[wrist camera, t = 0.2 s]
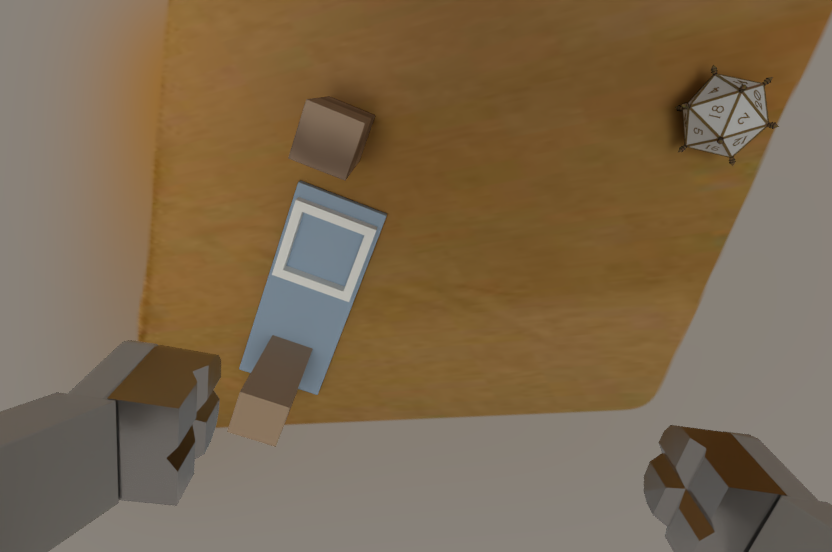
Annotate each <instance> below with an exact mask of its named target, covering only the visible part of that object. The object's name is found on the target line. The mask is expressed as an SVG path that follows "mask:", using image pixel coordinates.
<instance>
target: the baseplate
mask: <svg viewBox="0 0 832 552" xmlns="http://www.w3.org/2000/svg"><path fill="white" fill-rule="evenodd" d="M386 216H387V214H386V213H384V212H381V211H378V210H376V209H373V208H371V207H368V206H365V205H363V204H360V203H358V202H355V201H352V200H350V199H347V198H345V197H342V196H340V195H337V194H334V193H332V192H329V191H327V190H324V189H321V188H319V187H316V186H314V185H311V184H308V183H306V182H303V181H301V180H300V181H299V182H298V185H297V188H296V191H295V194H294V197H293V201H292V204H291V207H290V210H289V213H288V216H287V219H286V223H285V226H284V229H283V232H282V235H281V238H280V242H279V245H278V248H277V251H276V254H275V257H274V261H273V264H272V267H271V270H270V273H269V276H268V279H267V283H266V286H265V289H264V292H263V295H262V298H261V302H260V305H259V308H258V311H257V314H256V317H255V321H254V324H253V327H252V330H251V333H250V336H249V339H248V343H247V346H246V349H245V352H244V355H243V358H242V362H241V365H240V368H239V369H240V370H243V371H246V372H249V373H251V374H250V375H249V377H248V379H247V381H246V382H245V384H244V386H243V388H242V389H241V391H240V394H239V397H238V400H237V403H236V406H235V409H234V412H233V416H232V419H231V422H230V425H229V428H228V432H230V433H233V434H236V435H240V436H242V437H246V438H249V439H252V440H256V441H259V442H262V443H265V444H268V445H271V446H274V447H276V445H277V442H278V439H279V437H280V434H281V432H282V429H283V426H284V424H285V421H286V419H287V416H288V413H289V411H290V408H291V406H292V403H293V400H294V398H295V395H296V393H297V390H298V389H301V390H304V391H307V392H310V393H313V394H316V395H318V392H319V390H320V387H321V385H322V382H323V379H324V377H325V374H326V372H327V369H328V366H329V364H330V361H331V359H332V356H333V353H334V351H335V348H336V346H337V343H338V340H339V338H340V335H341V333H342V330H343V327H344V325H345V322H346V320H347V317H348V315H349V312H350V309H351V307H352V304H353V302H354V299H355V296H356V294H357V291H358V289H359V286H360V283H361V281H362V278H363V276H364V273H365V270H366V268H367V265H368V263H369V260H370V258H371V255H372V252H373V250H374V247H375V245H376V242H377V239H378V237H379V234H380V232H381V229H382V226H383V224H384V221H385V219H386Z"/></svg>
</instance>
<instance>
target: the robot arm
mask: <svg viewBox="0 0 832 552" xmlns="http://www.w3.org/2000/svg"><path fill="white" fill-rule="evenodd" d="M220 378H221V359H220V357H219V355H216V354H210V353H204V352H199V351H193V350H187V349H181V348H175V347H170V346H164V345H157V344H153V343H146V342H139V341H132V340H130V341H124V342H122V343H121V344H120V345H119V346H118V347H117V348H116V349H114V350H113V351H112V352H111V353H110V354H109V355H108V356H107V357H106V358H105V359H104V360H103V361H102V362H101V363H100V364H99V365H97V366H96V367H95V368H94V369H93V370H92V371H91V372H90V373H89V374H88V375H87V376H86V377H85V378H84V379H83V380H82V381H81V382H79V383H78V384H77V385H76V386H75V387H74V388H73V389H72V390H71V391H70V392H69V393H68V394H66V393H59V392H57V393H54V394H51V395H48V396H45V397H42V398H39V399H36V400H33V401H30V402H28V403H25V404H22V405H18V406H16V407H13V408H10V409H7V410H4V411H1V412H0V552H48V551H50V550H51V549H52V548H54V547H55V546H57V545H58V544H60V543H61V542H63V541H64V540H66V539H67V538H69V537H70V536H71V535H73V534H74V533H76V532H77V531H79V530H80V529H82V528H83V527H84V526H86V525H87V524H89V523H90V522H92V521H93V520H95V519H96V518H98V517H99V516H100V515H102V514H103V513H105V512H106V511H108V510H109V509H111V508H112V507H114V506H115V505H117V504H118V501H119V500H124V501H135V502H145V503H155V504H165V505H175V506H176V505H177V504H178V502H179V500H180V499H181V497H182V495H183V493H184V491H185V489H186V487H187V486H188V484H189V482H190V480H191V478H192V476H193V474H194V461H195V459H196V458H198V457H200V456H201V455H203V454H205V452H206V449H207V447H208V446H209V443H210V442H211V439H212V436H213V433H214V430H215V427H216V423H217V417H218V412H219V398H218V396H217V395H216V393H215V392H214V390H213V389H214V388H215V386H216V384H217V383H218V381H219V379H220ZM659 445H660V448H661V451H662V454H660V455H659V456H657V457H656V458H654V459H653V460H651V461H650V463H649V465H648V468H647V470H646V473H645V475H644V494H645V498H646V502H647V504H648V506H649V508H650V510H651V512H652V514H653V515H654V516H655V517H656V518H657V519H659V520H660V521H661V522H662V523H664V524H665V525H666V526H667V529H666V534H665V537H666V539H667V541H668V543H669V544H670V546H671V548H672V550H673V551H674V552H832V505H831V504H829V503H827V502H822V501H818V500H817V499H816V497H815V496H814V495H813V494H812V493H811V492H810V491H809V490H808V489H807V488H806V487H805V486H804V485H803V484H802V483H801V482H800V481H799V480H798V479H797V478H796V477H795V476H794V475H793V474H792V473H791V472H790V471H789V470H788V469H787V468H786V467H785V466H784V464H783V463H782V462H781V461H780V460H779V459H778V458H777V457H776V456H775V455H774V454H773V453H772V452H771V451H770V450H769V449H768V448H767V447H766V446H765V445H764V444H763V443H762V442H761V441H760V440H759V439H758V438H755V437H753V436H751V435H749V434H740V433H732V432H721V431H713V430H705V429H698V428H690V427H683V426H674V425H670V426H669V427H668V428H667V429H666V430H665V431H664V433H663V434H662V436H661V439H660V441H659Z"/></svg>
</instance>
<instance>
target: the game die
mask: <svg viewBox="0 0 832 552" xmlns="http://www.w3.org/2000/svg"><path fill="white" fill-rule="evenodd" d="M711 71H712V72H711V73H712V74H713V76H712V77H711V78H710V79H709V80H708V81H707V82H706V83H705V84H704V85H703V87H702V88H701V89H700V90H699V91H698V92H697V93H696V94H695V95H694V96H693V97H692V99H691V100H690V101H689V102H688V103H684V104H682V106H680V105H679V106H677V107H675V108H676V109H677V111H683V126H684V140H685V145H684V146H682V147H679V151H678V152H683V151H684V150H685V149H686V148H687V147H688V148H693V149H697V150H701V151H705V152H709V153H713V154H717V155H721V156H725V157H729V158H730V159H729V161H730V162H729V163H730V164H731V165H732V166H733V165H734V163H735V162H736V161H735V159H734V156H735V155H736V154H737V153H738V152H739V151H740V150H741V149H742V148H744V147H745V146H746V145H747V144H748V143H749V142H750V141H751V140H753V139H754V138H755V137H756V136H757V135H758V134H759V133H760V132H762V131H763V130H764V129H765V128H766V127H767V126H768V127H769V128H772V129H773V128H776V127H779V126H778V125H777V124H776V122H775V123H773V122H772V123H769V119H768V111H767V102H766V94H765V85H766V84H768V83H771V80H772V77H770V78H766V80H764V82H763V83H760V82H755V81H750V80H745V79H740V78H735V77H731V76H726V75H721V74H717V71H718V70H717V68H716V67H715V66H714V65H713V66H712V69H711Z"/></svg>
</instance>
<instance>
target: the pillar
mask: <svg viewBox="0 0 832 552" xmlns="http://www.w3.org/2000/svg"><path fill="white" fill-rule="evenodd" d="M374 118H375V115H373V114H371V113H369V112H366V111H364V110H361V109H359V108H356V107H354V106H352V105H349V104H347V103H344V102H342V101H339V100H337V99H335V98H332V97H330V96H329V97H321V98H313V99H306V102H305V105H304V109H303V112H302V115H301V119H300V122H299V125H298V128H297V132H296V135H295V138H294V141H293V145H292V148H291V151H290V155H289V159H291V160H294V161H296V162H299V163H302V164H304V165H307V166H309V167H312V168H314V169H317V170H319V171H322V172H325V173H327V174H330V175H332V176H335V177H337V178H340V179H343V180H346V179H347V177H348V176H349V175H350V173H351V172H352V170H353V169H354V168H355V166H356V165H357V164H358V162H359V161H360V158H361V155H362V152H363V149H364V147H365V144H366V141H367V138H368V135H369V132H370V130H371V127H372V124H373V121H374Z"/></svg>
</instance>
